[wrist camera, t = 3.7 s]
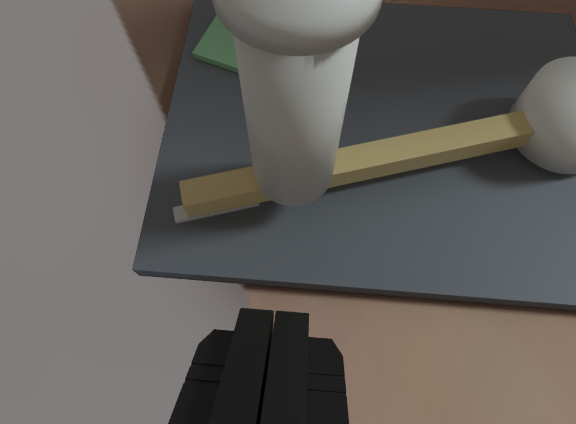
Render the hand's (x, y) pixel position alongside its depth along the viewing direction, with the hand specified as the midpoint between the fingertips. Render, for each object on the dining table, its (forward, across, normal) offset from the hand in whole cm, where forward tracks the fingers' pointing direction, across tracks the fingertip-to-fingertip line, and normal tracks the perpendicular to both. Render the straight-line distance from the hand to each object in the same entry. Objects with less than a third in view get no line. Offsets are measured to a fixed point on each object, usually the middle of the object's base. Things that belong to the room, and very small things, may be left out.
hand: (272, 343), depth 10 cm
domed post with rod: (+9, -4, -2) cm, 10 cm away
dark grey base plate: (+11, -4, -3) cm, 12 cm away
